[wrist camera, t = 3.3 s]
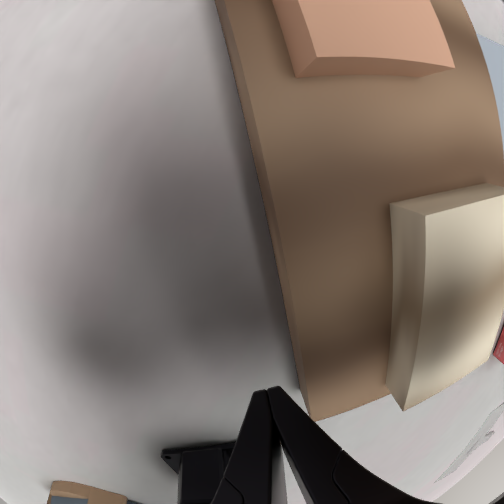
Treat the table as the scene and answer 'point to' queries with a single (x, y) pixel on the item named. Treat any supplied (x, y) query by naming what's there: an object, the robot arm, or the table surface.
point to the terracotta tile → (363, 37)
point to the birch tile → (444, 288)
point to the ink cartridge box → (500, 348)
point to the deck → (353, 184)
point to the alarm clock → (82, 494)
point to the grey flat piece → (475, 440)
